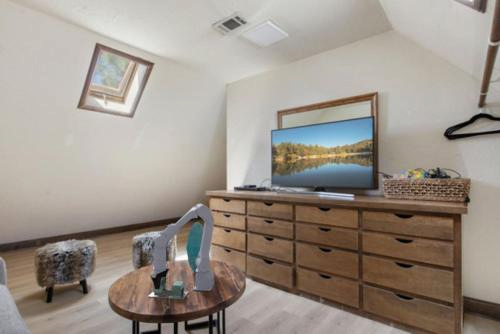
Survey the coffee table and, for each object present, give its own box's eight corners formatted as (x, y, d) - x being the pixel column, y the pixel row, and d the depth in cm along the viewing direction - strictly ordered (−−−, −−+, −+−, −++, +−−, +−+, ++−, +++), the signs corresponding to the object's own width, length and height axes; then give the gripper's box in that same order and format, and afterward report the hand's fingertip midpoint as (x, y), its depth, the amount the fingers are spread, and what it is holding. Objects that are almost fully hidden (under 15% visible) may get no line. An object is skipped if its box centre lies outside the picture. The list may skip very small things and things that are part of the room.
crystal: (207, 275, 154) (207, 224, 155) (184, 275, 154) (184, 224, 155) (210, 268, 166) (211, 220, 167) (189, 267, 166) (189, 220, 167)
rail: (188, 292, 132) (188, 280, 132) (183, 299, 125) (183, 286, 125) (154, 290, 134) (155, 279, 134) (148, 297, 127) (148, 284, 127)
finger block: (166, 288, 133) (166, 277, 133) (161, 292, 128) (161, 281, 128) (157, 287, 133) (157, 276, 133) (152, 292, 128) (153, 280, 128)
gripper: (159, 254, 138) (158, 280, 138) (145, 263, 124) (144, 292, 124) (171, 254, 137) (171, 280, 137) (159, 264, 123) (159, 293, 123)
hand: (159, 286), depth 130 cm, fingers closed on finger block, 5 cm apart
